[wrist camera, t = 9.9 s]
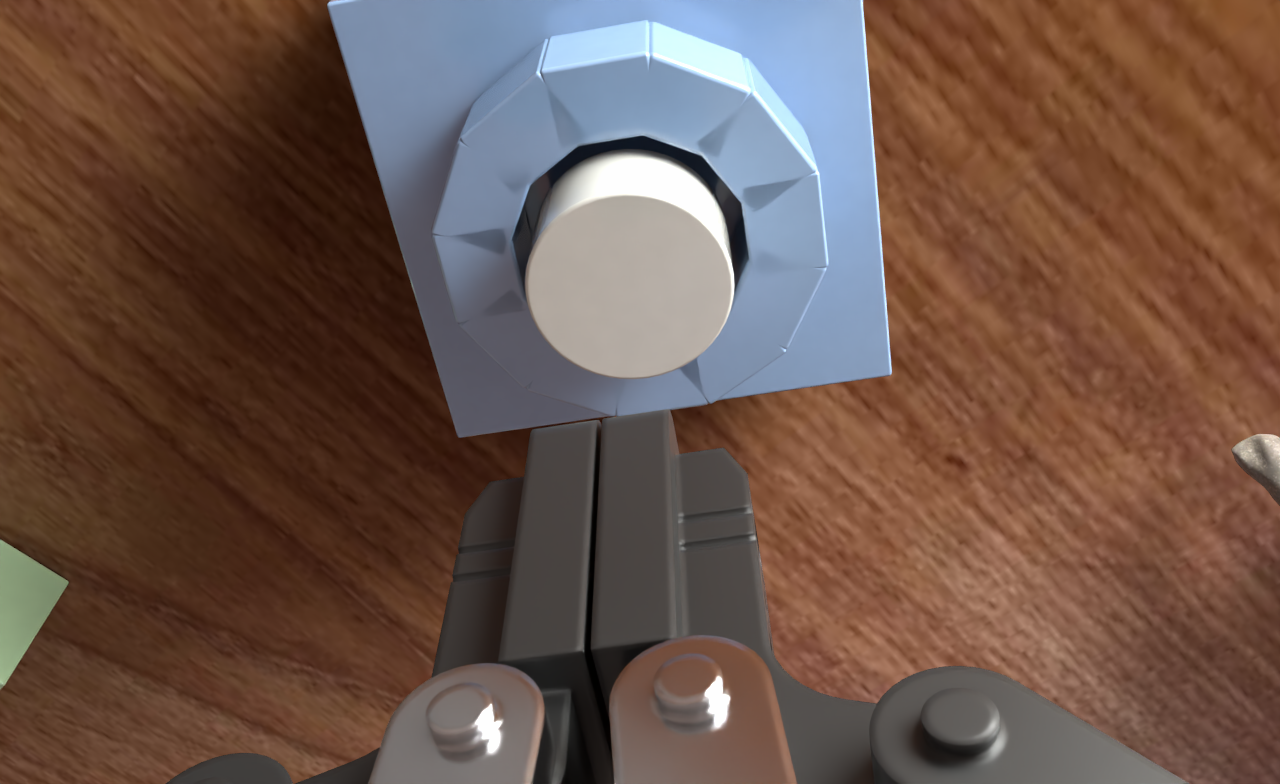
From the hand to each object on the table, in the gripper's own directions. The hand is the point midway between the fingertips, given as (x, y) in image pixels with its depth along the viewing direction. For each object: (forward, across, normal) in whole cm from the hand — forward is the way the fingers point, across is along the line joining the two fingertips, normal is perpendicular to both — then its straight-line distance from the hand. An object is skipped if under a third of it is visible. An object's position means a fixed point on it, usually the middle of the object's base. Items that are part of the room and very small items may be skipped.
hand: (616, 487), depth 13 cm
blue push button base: (+12, 0, 0) cm, 12 cm away
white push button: (+7, 0, 0) cm, 7 cm away
